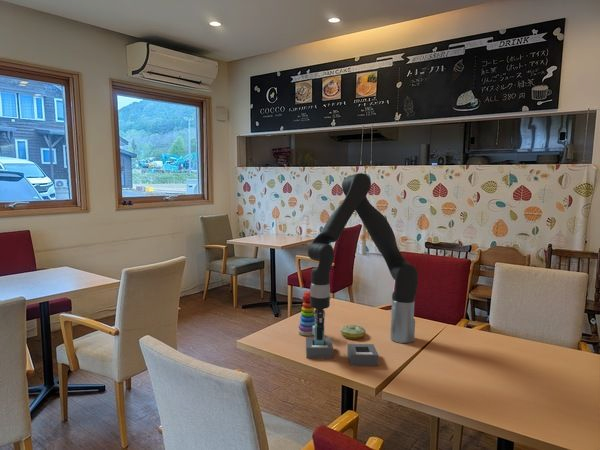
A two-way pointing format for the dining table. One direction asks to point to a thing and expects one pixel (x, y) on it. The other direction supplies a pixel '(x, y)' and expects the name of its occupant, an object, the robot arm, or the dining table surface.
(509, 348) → the dining table surface
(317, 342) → the plug
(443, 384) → the dining table surface
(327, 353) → the far socket block
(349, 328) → the decorated donut
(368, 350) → the near socket block
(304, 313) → the stacking toy
